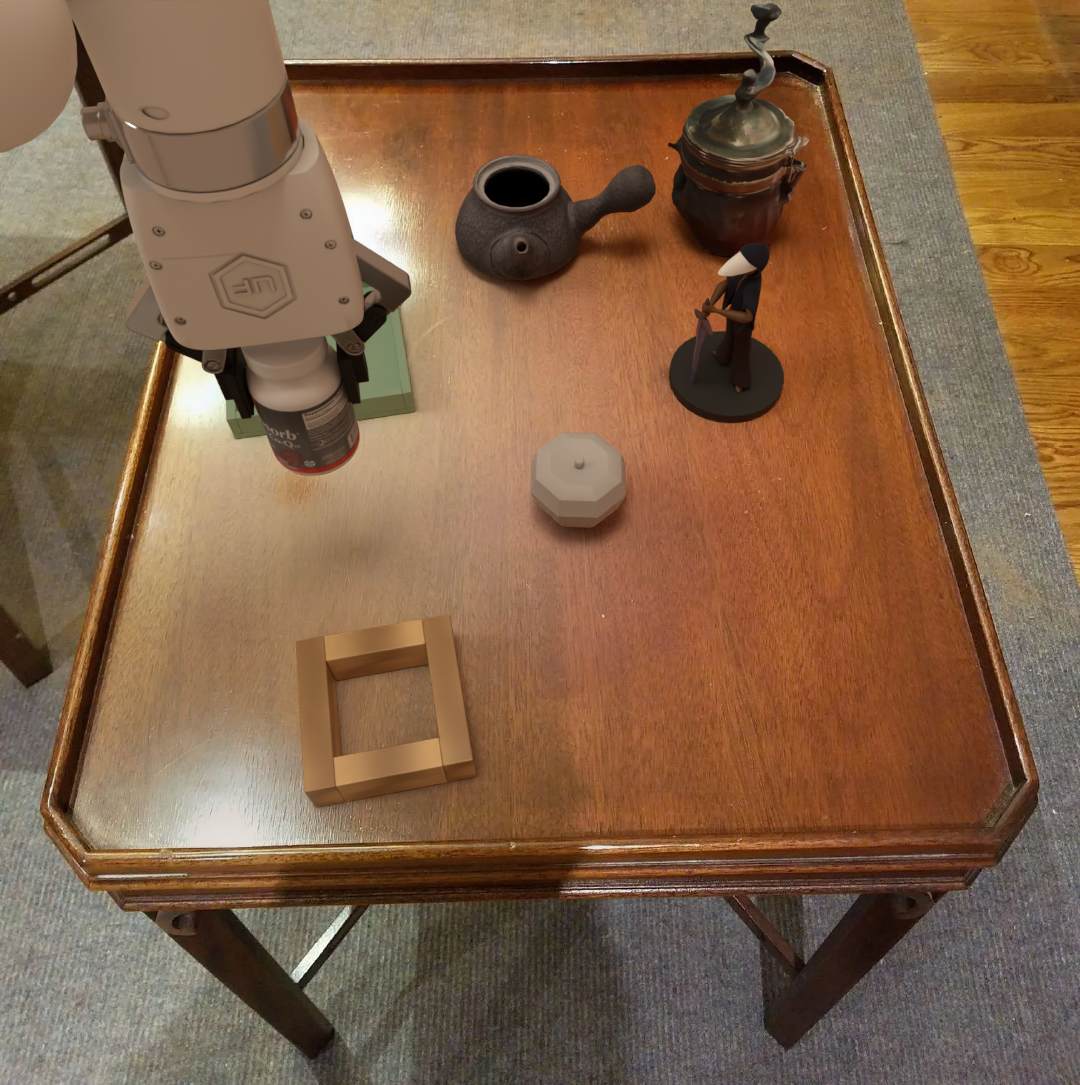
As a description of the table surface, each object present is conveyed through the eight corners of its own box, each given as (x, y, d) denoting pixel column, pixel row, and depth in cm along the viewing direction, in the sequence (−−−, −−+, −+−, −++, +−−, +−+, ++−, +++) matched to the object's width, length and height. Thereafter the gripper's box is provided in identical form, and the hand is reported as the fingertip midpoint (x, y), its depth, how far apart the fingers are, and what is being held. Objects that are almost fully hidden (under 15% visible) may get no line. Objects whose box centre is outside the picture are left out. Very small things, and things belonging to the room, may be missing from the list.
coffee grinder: (779, 176, 97) (822, 1, 82) (787, 272, 89) (836, 98, 74) (659, 170, 98) (680, -5, 82) (656, 265, 90) (679, 91, 75)
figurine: (650, 354, 83) (669, 218, 71) (750, 326, 85) (785, 189, 73) (698, 435, 78) (727, 304, 66) (802, 404, 80) (850, 271, 68)
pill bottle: (256, 445, 60) (210, 336, 52) (324, 398, 62) (290, 285, 54) (311, 495, 58) (272, 389, 50) (379, 444, 60) (353, 334, 52)
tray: (235, 439, 79) (226, 419, 76) (231, 305, 87) (223, 284, 85) (415, 411, 80) (411, 391, 78) (394, 282, 89) (390, 261, 87)
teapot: (456, 314, 86) (446, 227, 78) (456, 207, 95) (448, 118, 86) (655, 307, 87) (667, 220, 78) (638, 202, 95) (647, 112, 86)
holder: (315, 807, 62) (304, 792, 59) (306, 661, 67) (295, 640, 64) (476, 776, 63) (473, 760, 60) (453, 635, 68) (449, 613, 66)
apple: (640, 488, 76) (647, 438, 70) (603, 562, 72) (608, 516, 66) (552, 456, 77) (552, 405, 72) (511, 527, 74) (508, 479, 68)
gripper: (-2, 197, 38) (154, 462, 53) (412, 152, 39) (448, 421, 55) (21, 93, 42) (160, 367, 57) (396, 56, 43) (434, 332, 59)
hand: (300, 392), depth 56 cm, fingers closed on pill bottle, 5 cm apart
